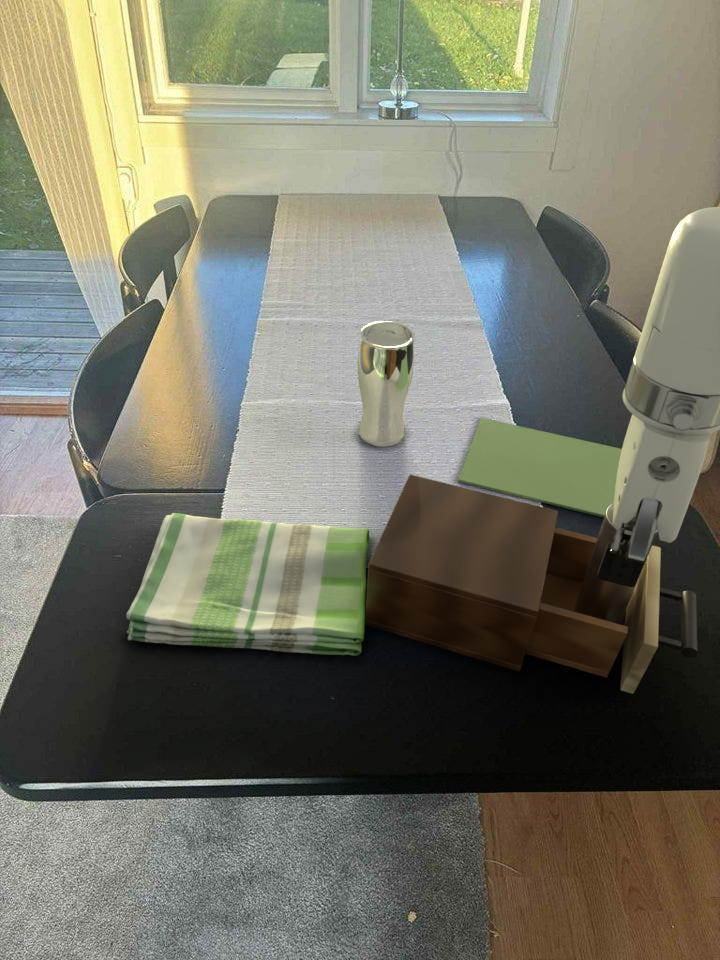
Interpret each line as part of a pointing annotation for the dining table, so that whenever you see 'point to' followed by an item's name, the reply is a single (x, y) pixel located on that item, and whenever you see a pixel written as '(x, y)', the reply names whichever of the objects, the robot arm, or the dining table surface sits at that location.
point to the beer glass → (384, 380)
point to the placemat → (542, 467)
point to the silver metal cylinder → (599, 594)
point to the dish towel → (253, 586)
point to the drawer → (596, 639)
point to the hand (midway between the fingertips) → (617, 558)
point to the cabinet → (461, 571)
